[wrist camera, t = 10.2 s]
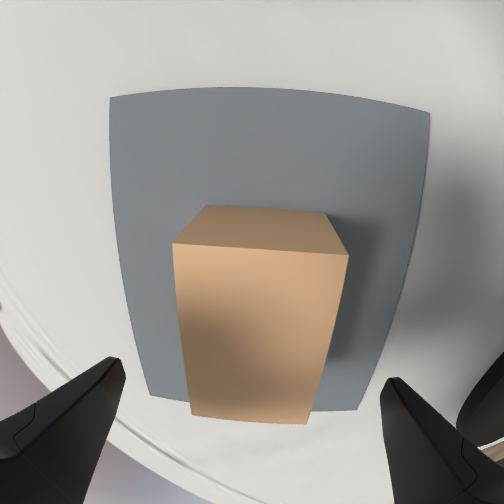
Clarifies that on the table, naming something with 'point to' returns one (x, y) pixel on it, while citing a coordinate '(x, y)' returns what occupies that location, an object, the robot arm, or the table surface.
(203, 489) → the table surface
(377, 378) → the table surface
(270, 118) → the mat
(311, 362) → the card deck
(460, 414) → the wireless charger
